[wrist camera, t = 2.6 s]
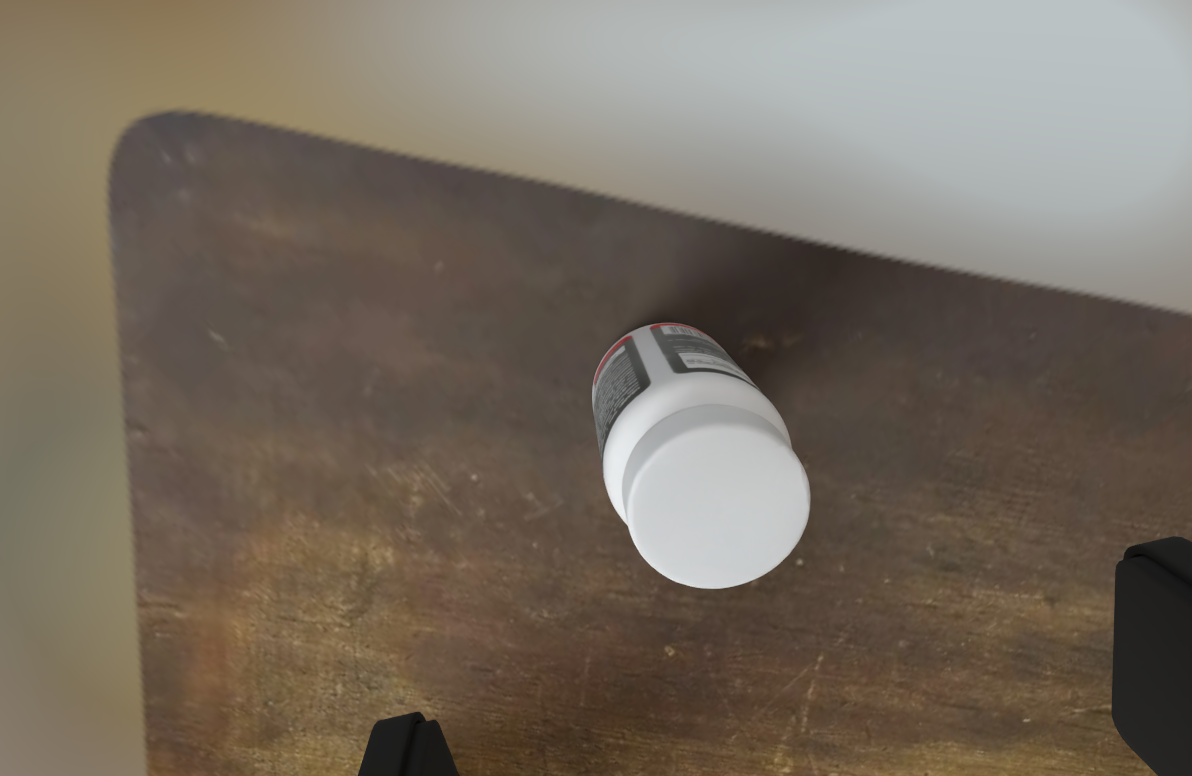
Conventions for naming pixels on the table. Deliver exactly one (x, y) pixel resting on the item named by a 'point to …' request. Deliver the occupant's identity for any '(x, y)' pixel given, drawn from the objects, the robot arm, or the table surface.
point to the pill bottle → (696, 459)
